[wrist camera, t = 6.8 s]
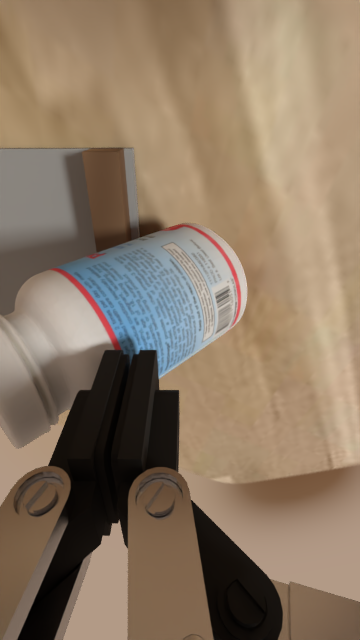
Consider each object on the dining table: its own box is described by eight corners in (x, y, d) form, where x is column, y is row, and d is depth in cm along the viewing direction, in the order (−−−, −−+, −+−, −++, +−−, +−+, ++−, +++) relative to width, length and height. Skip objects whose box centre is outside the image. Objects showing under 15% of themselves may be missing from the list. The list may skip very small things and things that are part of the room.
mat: (133, 147, 16) (131, 148, 16) (147, 344, 22) (146, 348, 22) (-114, 148, 16) (-122, 149, 16) (-30, 342, 23) (-34, 346, 22)
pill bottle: (183, 195, 16) (-86, 267, 10) (274, 276, 14) (18, 433, 8) (155, 279, 21) (-39, 366, 14) (222, 349, 19) (34, 486, 12)
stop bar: (125, 147, 16) (117, 151, 14) (141, 344, 22) (138, 362, 21) (93, 147, 16) (81, 151, 14) (118, 343, 22) (112, 362, 21)
